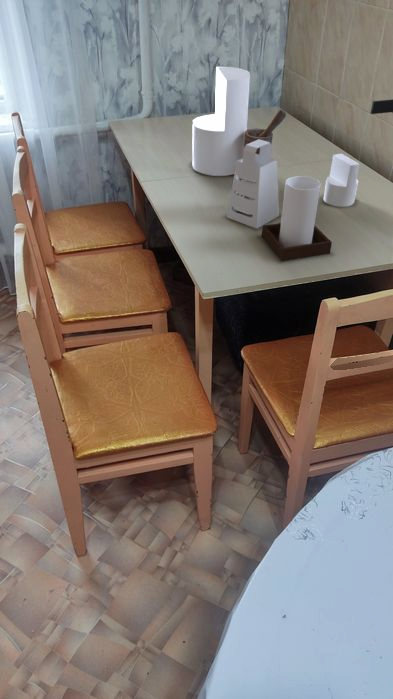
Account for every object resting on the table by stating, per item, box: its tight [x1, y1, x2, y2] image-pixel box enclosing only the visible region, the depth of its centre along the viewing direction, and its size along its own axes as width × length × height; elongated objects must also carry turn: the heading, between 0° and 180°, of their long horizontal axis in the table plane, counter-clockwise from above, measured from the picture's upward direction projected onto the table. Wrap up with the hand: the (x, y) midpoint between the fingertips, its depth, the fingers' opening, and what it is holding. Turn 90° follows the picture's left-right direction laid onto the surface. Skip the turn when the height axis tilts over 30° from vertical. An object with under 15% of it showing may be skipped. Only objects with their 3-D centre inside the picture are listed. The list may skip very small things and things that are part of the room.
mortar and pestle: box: [244, 109, 287, 155], centre depth 168 cm, size 12×9×20 cm
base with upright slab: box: [323, 153, 360, 208], centre depth 156 cm, size 9×9×12 cm
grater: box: [225, 139, 280, 229], centre depth 144 cm, size 10×10×20 cm
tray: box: [260, 222, 333, 262], centre depth 137 cm, size 13×13×3 cm
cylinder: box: [191, 65, 251, 177], centre depth 171 cm, size 17×17×28 cm
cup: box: [279, 175, 322, 248], centre depth 133 cm, size 8×8×16 cm
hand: (388, 116), depth 124 cm, fingers open, 13 cm apart
